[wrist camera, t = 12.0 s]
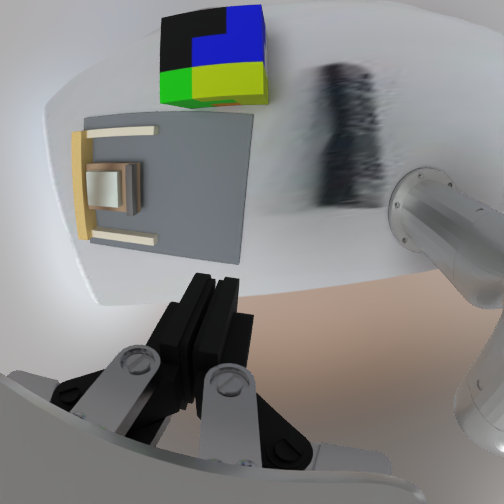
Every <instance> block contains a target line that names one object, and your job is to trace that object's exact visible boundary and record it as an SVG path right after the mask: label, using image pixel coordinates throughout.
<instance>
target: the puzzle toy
mask: <svg viewBox="0 0 504 504" xmlns="http://www.w3.org/2000/svg"><path fill="white" fill-rule="evenodd" d="M161 21H162V22H161V41H160V103H162V104H168V105H174V106H179V107H185V108H190V109H193V108H203V107H216V106H231V105H263V104H268V60H267V33H266V28H265V22H264V17H263V11H262V6H261V5H243V6H231V7H221V8H213V9H206V10H199V11H193V12H188V13H183V14H178V15H173V16H169V17H164V18H162V20H161Z"/></svg>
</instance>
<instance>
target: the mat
mask: <svg viewBox="0 0 504 504" xmlns="http://www.w3.org/2000/svg"><path fill="white" fill-rule="evenodd" d="M252 124H253V115H252V114H239V113H223V112H186V111H181V112H145V113H129V114H117V115H107V116H98V117H91V118H84V131H78V132H72V177H73V193H74V204H75V214H76V222H77V230H78V237H79V239H82V240H89V239H90V243H94V244H100V245H107V246H113V247H119V248H126V249H132V250H139V251H145V252H152V253H159V254H165V255H172V256H179V257H186V258H193V259H200V260H207V261H214V262H221V263H228V264H235V265H239V259H240V247H241V236H242V225H243V215H244V204H245V194H246V183H247V173H248V163H249V153H250V143H251V134H252ZM98 162H138V163H140V202H141V211H140V212H139V213H137V214H136V215H134V216H127V212H118V211H107V210H96V209H89V205H88V196H87V180H86V172H87V169H86V164H87V163H98Z"/></svg>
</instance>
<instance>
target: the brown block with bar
mask: <svg viewBox="0 0 504 504" xmlns="http://www.w3.org/2000/svg"><path fill="white" fill-rule="evenodd" d="M86 169H87V172H86V180H87V196H88V205H89V209H96V210H107V211H118V212H127V216H134V215H136V214H137V213H139V212H140V211H141V202H140V163H138V162H98V163H87V164H86Z"/></svg>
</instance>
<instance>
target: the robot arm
mask: <svg viewBox="0 0 504 504" xmlns="http://www.w3.org/2000/svg"><path fill="white" fill-rule="evenodd" d="M418 175H419V176H418ZM395 203H396V205H394V204H395ZM388 214H389V223H390V227H391V230H392V232H393V234H394V236H395V237H396V239H397V240H398V241H399V243H400V244H401V245H403V246H404V247H405V248H407V249H409V250H411V251H413V252H419V253H421V252H424V253H425V254H426V255H427V256H428V257H429V259H430V260H431V261H432V262H433V263H434V264H435V265H436V266H437V267H438V268H439V269H440V270H441V271H442V273H443V274H444V275H445V276H446V277H447V278H448V280H449V281H450V282H451V283H452V284H453V285H454V286H455V288H456V289H457V290H458V291H459V292H460V293H461V295H462V296H463V297H464V298H465V299H466V300H467V301H468V302H469V303H471V304H472V305H474V306H476V307H478V308H482V309H498V308H503V312H502V315H501V317H500V319H499V321H498V323H497V325H496V327H495V329H494V332H493V334H492V335H491V337H490V338H489V340H488V342H487V343H486V345H485V347H484V348H483V350H482V351H481V353H480V354H479V356H478V357H477V359H476V360H475V362H474V363H473V365H472V366H471V368H470V369H469V370H468V372H467V373H466V375H465V376H464V378H463V379H462V381H461V383H460V385H459V387H458V389H457V392H456V394H455V398H454V413H455V417H456V420H457V423H458V424H459V426H460V428H461V430H462V431H463V432H464V433H465V435H466V436H467V437H468V438H470V440H472V441H473V442H474V443H476V444H477V445H478V446H480V447H482V448H484V449H485V450H487V451H489V452H491V453H493V454H496V455H498V456H500V457H502V458H504V214H502V213H500V212H498V211H496V210H494V209H493V208H491V207H489V206H487V205H485V204H483V203H481V202H479V201H478V200H476V199H474V198H472V197H470V196H468V195H466V194H464V193H462V192H459V191H458V190H457V188H456V186H455V184H454V182H453V181H452V180H451V179H450V178H449V177H448V176H447V175H446V174H445V173H443V172H441V171H439V170H436V169H432V168H421V169H417V170H414V171H412V172H410V173H409V174H407V175H406V176H405V177H404V178H403V179H402V180H401V181H400V182H399V183H398V185H397V186H396V188H395V190H394V192H393V194H392V196H391V200H390V204H389V212H388ZM215 283H216V281H215V279H211V275H209V274H203V273H196V274H195V275H194V277H193V279H192V281H191V283H190V284H189V286H188V288H187V290H186V292H185V294H184V295H183V297H182V299H181V301H180V303H177V302H170V304H169V305H168V307H167V309H166V310H165V312H164V314H163V315H162V317H161V319H160V321H159V323H158V324H157V326H156V328H155V329H154V331H153V333H152V335H151V337H150V339H149V340H148V342H147V344H146V345H133V346H129V347H127V348H125V349H123V350H122V351H121V352H120V353H119V354H118V355H117V356H116V357H115V358H114V359H113V361H112V362H111V363H110V364H109V365H108V367H107V368H106V369H103V370H100V371H97V372H94V373H91V374H87V375H84V376H81V377H78V378H74V379H71V380H67V381H65V382H62V383H61V384H60V383H59V382H58V380H54V379H50V378H46V377H42V376H38V375H34V374H30V373H27V372H24V371H18V370H17V371H13V372H11V373H10V374H9V375H8V376H5V375H3V374H1V373H0V504H428V503H427V500H426V498H425V496H424V494H423V492H422V491H421V490H420V488H419V487H418V486H416V485H415V484H413V483H411V482H409V481H407V480H404V479H402V478H398V477H394V476H391V471H392V466H391V461H390V460H389V458H388V457H387V456H386V455H385V454H383V453H381V452H378V451H372V450H364V449H357V448H350V447H344V446H338V445H333V444H328V443H323V442H322V443H321V444H316V443H311V442H309V441H308V440H307V439H306V437H304V436H303V435H302V434H301V433H300V432H299V431H297V430H296V429H295V428H294V427H292V425H291V424H290V423H288V422H287V421H286V420H285V419H284V418H283V417H282V416H281V415H280V414H278V413H277V412H276V411H275V410H274V409H273V408H272V407H271V406H270V405H269V404H268V403H267V402H266V401H265V400H263V398H261V397H260V396H259V395H258V394H257V393H256V386H255V380H254V377H253V375H252V374H251V372H250V371H249V370H247V369H246V366H247V360H248V353H249V347H250V340H251V333H252V326H253V317H254V315H251V314H244V313H237V303H238V291H239V279H237V278H230V277H225V278H224V280H219V281H218V284H217V286H216V289H215ZM194 398H195V399H196V409H197V416H198V417H199V418H200V420H201V428H200V443H199V458H195V457H191V456H187V455H183V454H179V453H175V452H171V451H167V450H163V449H160V448H156V445H157V444H158V442H159V440H160V438H161V436H162V435H163V433H164V431H165V429H166V427H167V425H168V424H169V422H170V420H171V417H172V414H174V413H177V412H179V410H180V409H182V410H186V407H187V404H188V403H191V404H192V403H193V402H194Z"/></svg>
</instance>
